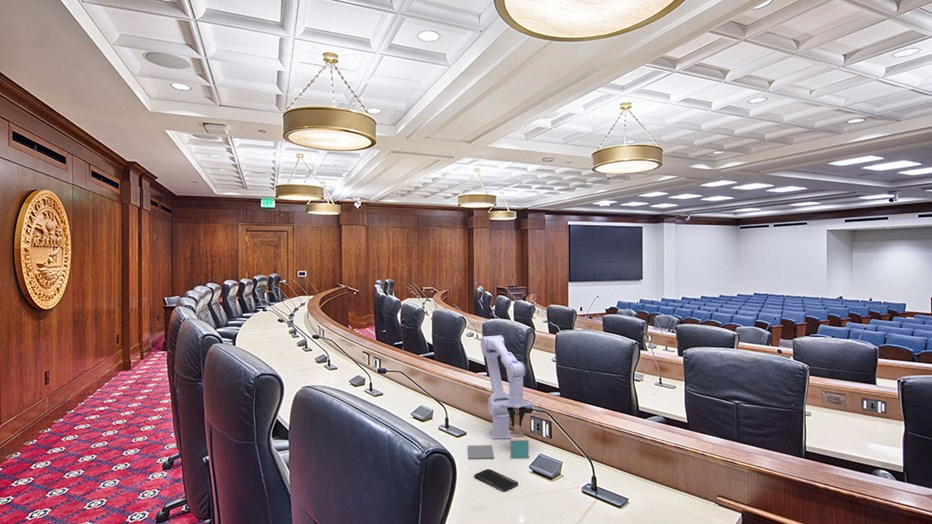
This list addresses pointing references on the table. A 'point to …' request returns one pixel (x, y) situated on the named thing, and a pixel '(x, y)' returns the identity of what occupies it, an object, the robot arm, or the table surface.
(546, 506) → the table surface
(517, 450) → the tile
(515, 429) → the grey square paddle
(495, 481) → the phone
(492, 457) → the mat
